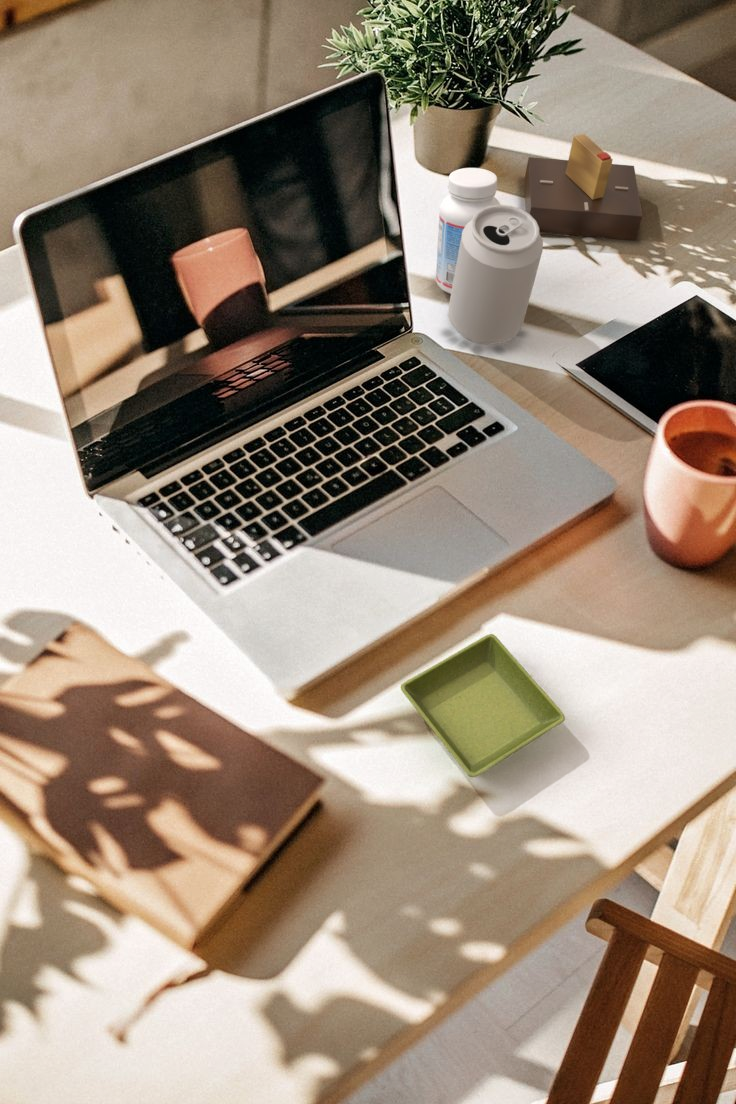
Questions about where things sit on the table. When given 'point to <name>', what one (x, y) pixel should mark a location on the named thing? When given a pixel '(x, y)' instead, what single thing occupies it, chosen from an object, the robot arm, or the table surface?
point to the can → (495, 274)
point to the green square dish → (482, 704)
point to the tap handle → (588, 166)
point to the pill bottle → (460, 216)
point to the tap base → (582, 201)
